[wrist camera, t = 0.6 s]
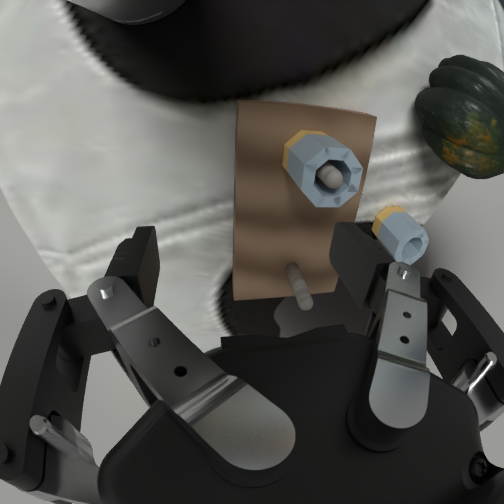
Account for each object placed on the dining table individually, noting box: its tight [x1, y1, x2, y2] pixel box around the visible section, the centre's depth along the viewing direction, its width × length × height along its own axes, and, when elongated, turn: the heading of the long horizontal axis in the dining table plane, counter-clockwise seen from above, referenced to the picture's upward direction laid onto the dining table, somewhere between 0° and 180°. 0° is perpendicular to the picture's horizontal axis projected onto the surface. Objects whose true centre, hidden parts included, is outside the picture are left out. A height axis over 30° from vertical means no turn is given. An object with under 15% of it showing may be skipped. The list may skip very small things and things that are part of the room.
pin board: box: [233, 100, 377, 310], centre depth 28 cm, size 24×14×9 cm, turn 177°
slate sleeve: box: [372, 206, 429, 265], centre depth 33 cm, size 5×5×6 cm
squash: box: [415, 55, 504, 179], centre depth 21 cm, size 14×15×15 cm
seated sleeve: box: [282, 130, 363, 207], centre depth 24 cm, size 5×5×6 cm
